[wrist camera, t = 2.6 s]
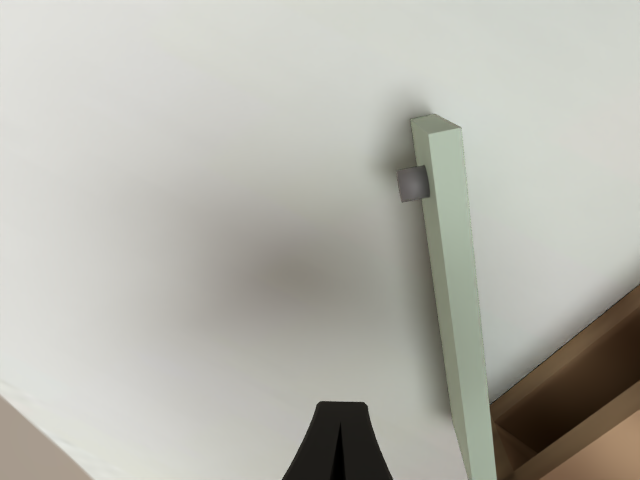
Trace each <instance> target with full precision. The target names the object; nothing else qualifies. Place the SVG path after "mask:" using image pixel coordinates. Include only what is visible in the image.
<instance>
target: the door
mask: <svg viewBox="0 0 640 480" xmlns="http://www.w3.org/2000/svg"><path fill="white" fill-rule="evenodd" d="M410 120H411V127H412V134H413V141H414V149H415V156H416V163H417V167H411V168H406V169H401V170H397V180H398V187H399V192H400V197H401V201H402V202H407V201H412V200H418V199H422V206H423V213H424V220H425V227H426V235H427V242H428V249H429V256H430V263H431V271H432V278H433V285H434V292H435V299H436V306H437V314H438V321H439V328H440V335H441V342H442V349H443V357H444V364H445V371H446V378H447V385H448V392H449V400H450V407H451V414H452V421H453V426H454V429H455V433H456V436H457V440H458V443H459V447H460V451H461V454H462V458H463V461H464V465H465V468H466V472H467V476H468V479H469V480H497V477H496V467H495V457H494V447H493V437H492V427H491V417H490V407H489V397H488V387H487V377H486V368H485V358H484V348H483V338H482V328H481V318H480V308H479V298H478V288H477V278H476V268H475V258H474V249H473V239H472V229H471V219H470V209H469V199H468V189H467V179H466V169H465V159H464V149H463V140H462V130H461V127H459V126H457V125H456V124H454V123H452V122H450V121H448V120H446V119H444V118H442V117H440V116H438V115H436V114H433V115H428V116H423V117H418V118H414V119H410Z"/></svg>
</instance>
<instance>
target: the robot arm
mask: <svg viewBox="0 0 640 480" xmlns="http://www.w3.org/2000/svg"><path fill="white" fill-rule="evenodd" d="M282 480H393V478H392V476H391V474H390V472H389V470H388V467H387V465H386V462H385V460H384V458H383V455H382V453H381V451H380V448H379V445H378V443H377V440H376V437H375V434H374V431H373V428H372V425H371V421H370V417H369V412H368V406H367V405H366V404H365V403H364V402H332V401H320V402H319V403H318V404H317V406H316V409H315V412H314V415H313V418H312V421H311V423H310V426H309V428H308V430H307V433H306V435H305V437H304V439H303V441H302V443H301V445H300V447H299V449H298V451H297V453H296V455H295V457H294V459H293V461H292V463H291V465H290V467H289V468H288V470H287V472H286V473H285V475H284V477H283V479H282Z"/></svg>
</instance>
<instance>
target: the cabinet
mask: <svg viewBox="0 0 640 480" xmlns="http://www.w3.org/2000/svg"><path fill="white" fill-rule="evenodd" d="M489 407H490V417H491V427H492V437H493V447H494V457H495V467H496V477H497V480H640V285H639V286H637V287H636V288H635V289H634V290H632V291H631V292H630V293H629V294H627V295H626V296H625V297H624V298H622V299H621V300H620V301H619V302H618V303H616V304H615V305H614V306H613V307H611V308H610V309H609V310H608V311H606V312H605V313H604V314H603V315H601V316H600V317H599V318H598V319H596V320H595V321H594V322H593V323H592V324H590V325H589V326H588V327H587V328H585V329H584V330H583V331H582V332H580V333H579V334H578V335H577V336H575V337H574V338H573V339H572V340H570V341H569V342H568V343H567V344H566V345H564V346H563V347H562V348H561V349H559V350H558V351H557V352H556V353H554V354H553V355H552V356H551V357H549V358H548V359H547V360H546V361H544V362H543V363H542V364H541V365H540V366H538V367H537V368H536V369H535V370H533V371H532V372H531V373H530V374H528V375H527V376H526V377H525V378H523V379H522V380H521V381H520V382H518V383H517V384H516V385H515V386H514V387H512V388H511V389H510V390H509V391H507V392H506V393H505V394H504V395H502V396H501V397H500V398H499V399H497V400H496V401H495V402H494V403H493V404H491V405H490V406H489Z"/></svg>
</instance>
